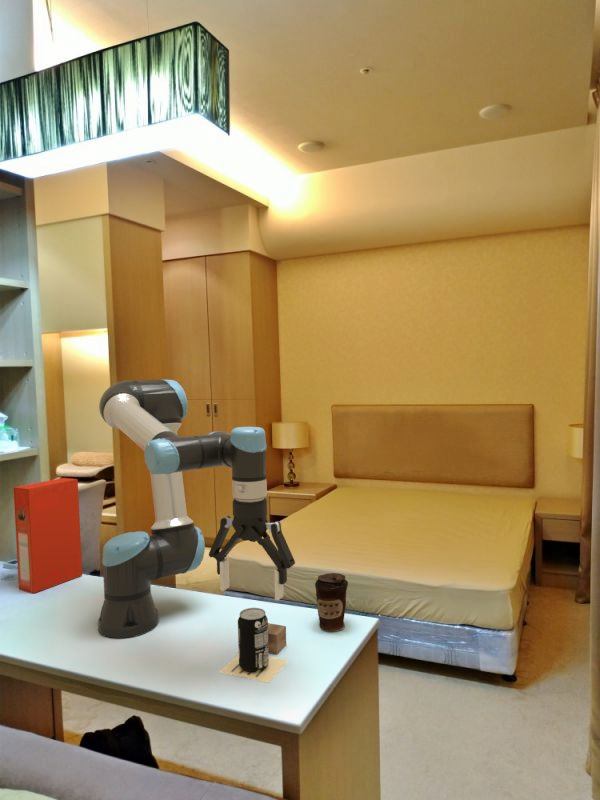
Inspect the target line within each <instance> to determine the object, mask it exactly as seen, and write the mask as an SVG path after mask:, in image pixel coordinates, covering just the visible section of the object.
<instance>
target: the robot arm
mask: <svg viewBox="0 0 600 800" xmlns="http://www.w3.org/2000/svg"><path fill="white" fill-rule="evenodd" d="M98 407H99V413H100V416H101V418H102V419H103V420H104V421H103V422H105V423H106V424H107V425H108V426H109V427H112V428H113V429H117V430H120V431H121V432H123V434H124V435H126V436H127V437H128V438H129V439H130V440H131V441H133V442H134V443H135V444H136V445H137V446H138V447H139V448H141V450H143V452H144V455H143V456H144V463H145V465H146V466H147V471H149V473H150V481H151V482H150V483H151V491H152V501H153V507H154V508H153V509H154V518H155V521H154V523H153V524H152V526H151V527H150V533H151V534H150V535H149V533H147V532H146V531H138V530H137V531H134V532H132V531H130V532H129V531H128V532H126V533H121V534H119V535H116V536H113V537H112V538H110V539H109V540H108V541H107V542H106V543H105V544H104V545H103V549H102V559H101V562H102V571H103V591H104V594H103V596H104V600H103V604H102V606H101V610H100V615H99V617H98V620H97V621H98V622H97V626H98V632H99V634H100V635H102V636H104V637H107V638H112V639H113V638H114V639H124V638H125V639H126V638H132V637H137V636H140V635H143V634H146V633H148V632H150V631H152V630H153V629H155V628H156V627H157V626H158V624H159V622H160V620H159V619H160V618H159V617H160V616H159V611H158V609H157V607H156V604H155V602H154V599H153V595H152V592H151V591H152V589H151V588H152V587H151V586H152V585H151V583H152V581H156V580H161V579H164V578H167V577H169V578H170V577H172V576H175V575H181V574H182V575H183V574H186V573H188V572H191V571H194V570H196V569H198V568H199V567H200V566H201V564H202V562H203V560H204V556H205V547H206V544H205V536H204V534H203V532H202V530H201V529H200V527H197V526H195V523H194V522H195V521H194V520H193V519H191V517H189V516H188V512H187V511H188V510H187V505H186V504H187V503H186V494H185V487H184V478H183V477H184V476H183V472H188V471H195V470H203V469H204V470H205V469H210V468H218V467H228V468H231V479H232V481H231V483H232V484H231V485H232V490H231V491H232V498H233V500H232V516H233V518H231V516H230V515H227V516H224V517H223V518H220V523H219V524H220V525H219V529H218V531H217V534H216V537H214V541H213V543H212V545H211V548H210V550H209V552H208V557H209V558H213V559H215V561H216V574H217V575H219V577H220V578H219V589H220V591H221V592H224V591H225V590H227V589H228V588H229V587H230V558H227V556H228V555H229V553H230V552H231V551H232V550H233V548H234V547H236V545H237V543H239V541H240V540H241V541H243V542H246V541H249V542H252V543H255V542H257V543H258V545H260V546H261V547H262V548H263V550H264V551H265V552H266V554H267V555H268V558H270V560H271V561H272V563H273V564H274V565H275V567H276V569H274V600H275V601H279V600H280V599H282V598H283V597H284V595H285V593H284V591H285V590H284V585H285V583H287V581H288V570H287V569H291V568H292V567H293V566H294V565H295V564H296V561H295V557H294V556H293V553H292V552H291V550H290V547H289V546H288V543H287V541H286V538H285V536H284V534H283V531H282V524H281V521H279V520H277V521H275V522H269V521H268V499H267V498H266V497H267V495H268V487H267V486H268V485H267V483H268V482H267V447H268V446H267V440H266V431H265V430H264V428H263V427H259V426H238V427H234V428H233V429H232V430H231V432H226V431H222V430H221V431H212V432H209V433H208V434H199V435H189V436H179V435H178V430H179V429H180V427H182V425H183V423H182V420H183V419H185V417H186V416H187V414H188V409H189V404H188V398H187V394H186V392H185V390H184V388H183V387H182V385H180V383H179V382H177V381H176V380H174V379H163V378H161V379H144V380H143V379H142V380H141V379H140V380H139V379H138V380H123V381H118V382H116V383H113V384H112V385H111V386H109V387H108V388H107V389H106V390H105V391H104V392H103V394H102V395H101V398H100V399H99V406H98ZM231 527H233V530H234V533H233V534H232V536H231V537H230V539H229V540H228V541H227V543H226V544H225V545H224V546H223V544H224V542H225V540H226V538H227V535H228V533H229V531H230V528H231ZM267 530H268V531H269V533H270V534H271V536H270V535H269V533H268V532H267ZM271 537H272V539H273V541H274V542H273V541H272V540H271ZM222 546H223V547H222Z"/></svg>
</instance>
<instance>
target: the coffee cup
mask: <svg viewBox="0 0 600 800" xmlns="http://www.w3.org/2000/svg"><path fill="white" fill-rule="evenodd" d="M314 586H315V596H316V606H317V614H318V623H319V624H318V625H319V628H320V629H322V631H327V632H339V631H341V630H342V631H343V630H344V629H345V625H346V624H345V620H344V619H345V613H346V608H347V589H348V586H349V581H348V580H347V579H346V575H344V574H341V573H339V572H337V573H336V572H330V573H324V574H321V575H318V576H317V580H316V581H315V583H314Z"/></svg>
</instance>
